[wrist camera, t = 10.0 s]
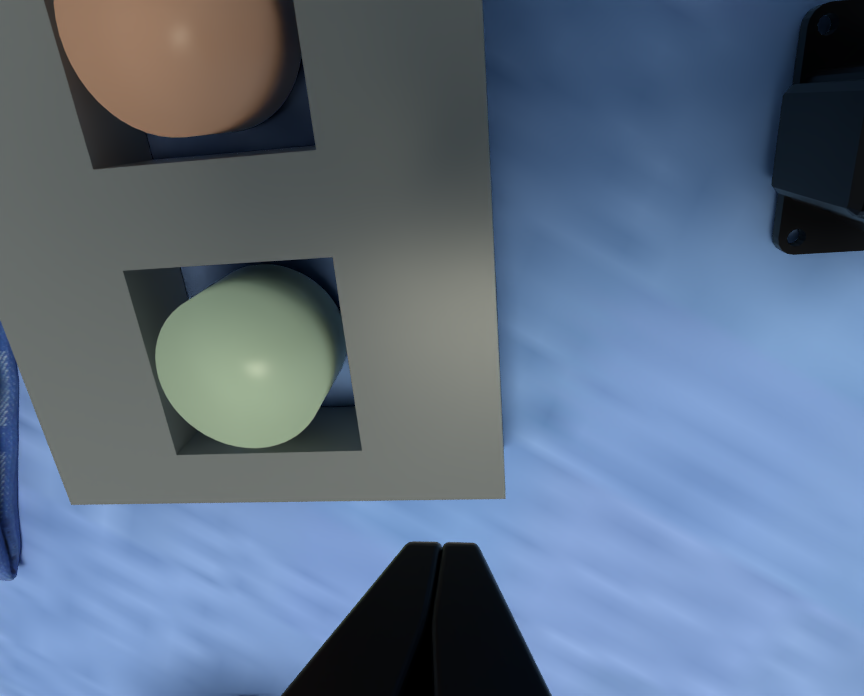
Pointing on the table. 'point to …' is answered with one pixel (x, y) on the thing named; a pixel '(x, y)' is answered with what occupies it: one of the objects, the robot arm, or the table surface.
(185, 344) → the sage button
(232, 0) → the terracotta button
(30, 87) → the button panel
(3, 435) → the dish towel
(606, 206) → the table surface
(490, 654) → the robot arm
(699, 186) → the table surface
